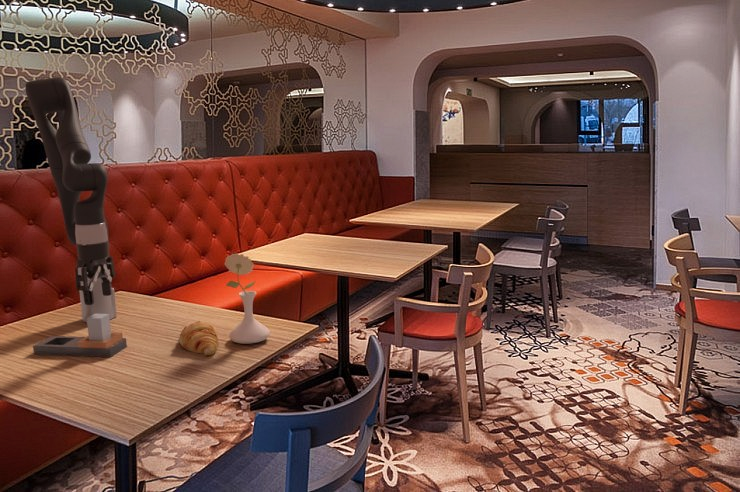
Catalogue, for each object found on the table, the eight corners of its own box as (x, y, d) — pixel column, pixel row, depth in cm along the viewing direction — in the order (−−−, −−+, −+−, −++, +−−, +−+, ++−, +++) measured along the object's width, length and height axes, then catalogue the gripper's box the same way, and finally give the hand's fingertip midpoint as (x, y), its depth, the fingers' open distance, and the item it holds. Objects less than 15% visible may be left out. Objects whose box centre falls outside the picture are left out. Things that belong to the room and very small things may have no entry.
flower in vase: (278, 336, 170) (274, 251, 165) (254, 349, 159) (250, 259, 155) (241, 331, 175) (236, 248, 171) (216, 343, 165) (210, 255, 160)
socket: (126, 346, 163) (125, 332, 162) (110, 357, 155) (109, 342, 155) (53, 344, 166) (51, 330, 165) (33, 354, 158) (32, 340, 157)
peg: (112, 349, 162) (109, 313, 160) (104, 354, 158) (100, 318, 156) (98, 348, 162) (95, 313, 160) (90, 353, 158) (86, 318, 156)
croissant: (223, 367, 156) (235, 339, 157) (189, 358, 151) (202, 329, 151) (196, 344, 173) (207, 319, 174) (164, 335, 167) (176, 309, 168)
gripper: (94, 235, 162) (100, 292, 165) (61, 245, 148) (69, 307, 151) (119, 235, 161) (125, 292, 164) (90, 245, 147) (96, 308, 150)
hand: (98, 299), depth 158 cm, fingers open, 8 cm apart
